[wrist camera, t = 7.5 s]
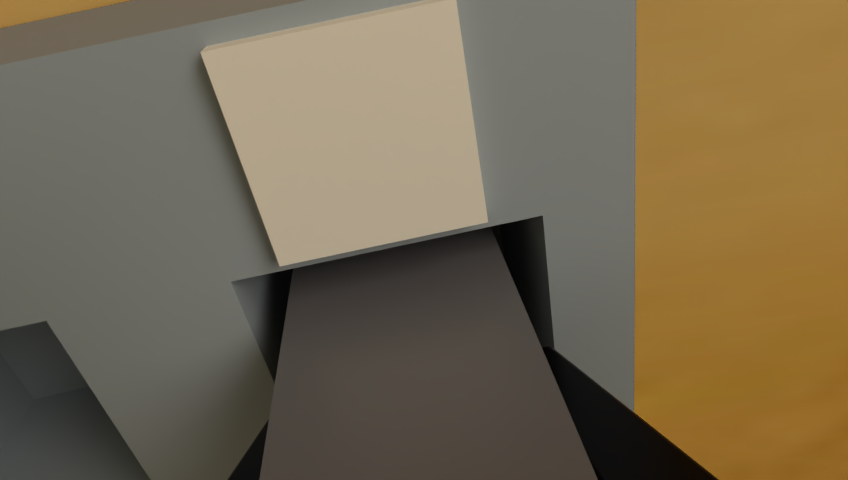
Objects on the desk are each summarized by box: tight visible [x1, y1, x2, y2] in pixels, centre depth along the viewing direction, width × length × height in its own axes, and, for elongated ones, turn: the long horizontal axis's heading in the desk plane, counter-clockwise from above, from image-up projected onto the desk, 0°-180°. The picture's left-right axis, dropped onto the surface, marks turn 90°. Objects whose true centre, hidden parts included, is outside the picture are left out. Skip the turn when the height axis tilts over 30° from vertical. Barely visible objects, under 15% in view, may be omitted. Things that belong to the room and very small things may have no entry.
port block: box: [0, 0, 636, 480], centre depth 11 cm, size 11×14×5 cm
